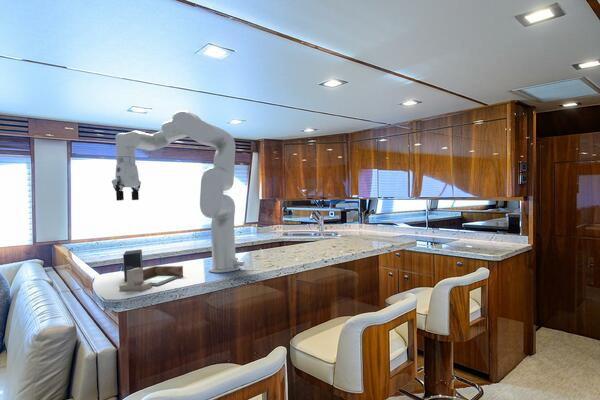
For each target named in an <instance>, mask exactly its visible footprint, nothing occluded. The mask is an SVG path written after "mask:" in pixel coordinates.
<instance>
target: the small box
mask: <svg viewBox="0 0 600 400" xmlns="http://www.w3.org/2000/svg"><path fill="white" fill-rule="evenodd" d="M122 257H123V258H122V261H123V274H124V282H126V274H127V270H131V269H134V268H143V267H144V266H143V265H144V264H143V250H142V249H133V250H126V251H124V253H123V255H122ZM143 269H144V268H143Z"/></svg>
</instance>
